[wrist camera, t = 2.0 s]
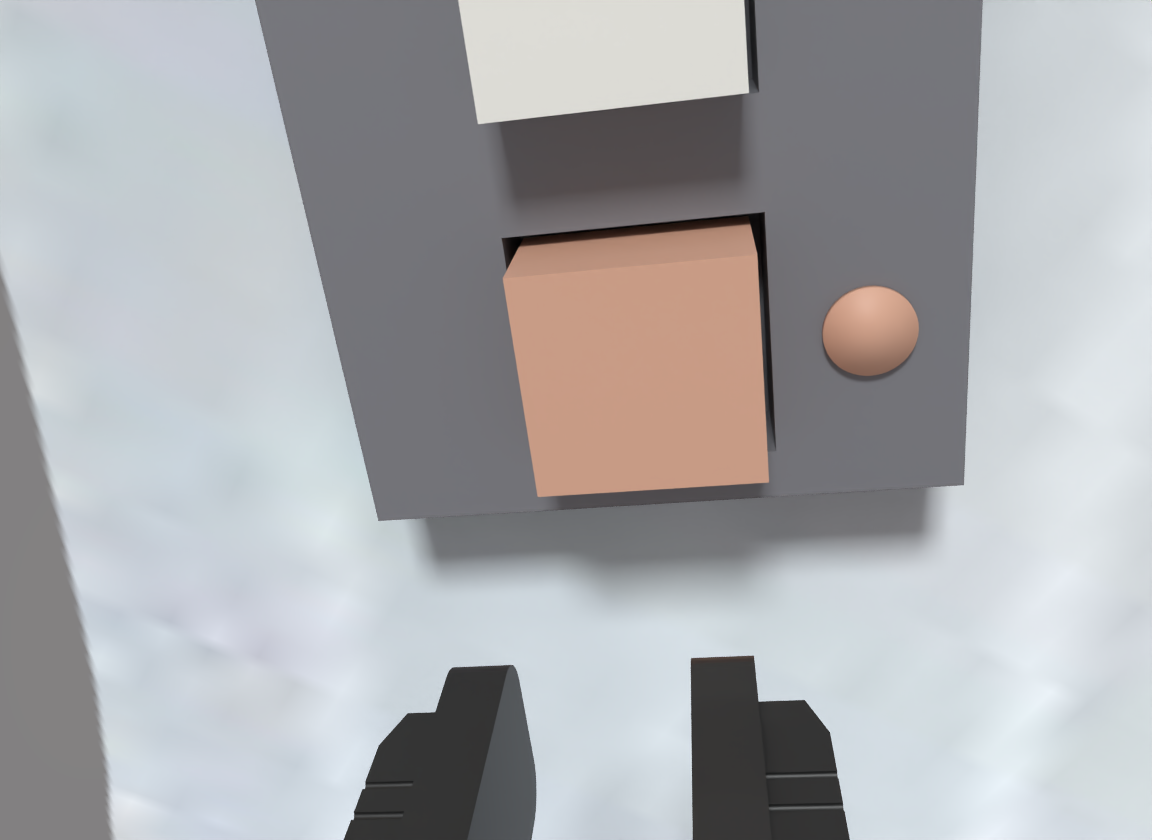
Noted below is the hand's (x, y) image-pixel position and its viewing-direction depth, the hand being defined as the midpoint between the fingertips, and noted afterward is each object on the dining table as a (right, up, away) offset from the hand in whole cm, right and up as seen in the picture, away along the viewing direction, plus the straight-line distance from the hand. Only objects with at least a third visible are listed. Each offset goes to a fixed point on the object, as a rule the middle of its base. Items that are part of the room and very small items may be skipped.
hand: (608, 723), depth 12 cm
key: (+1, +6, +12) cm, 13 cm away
